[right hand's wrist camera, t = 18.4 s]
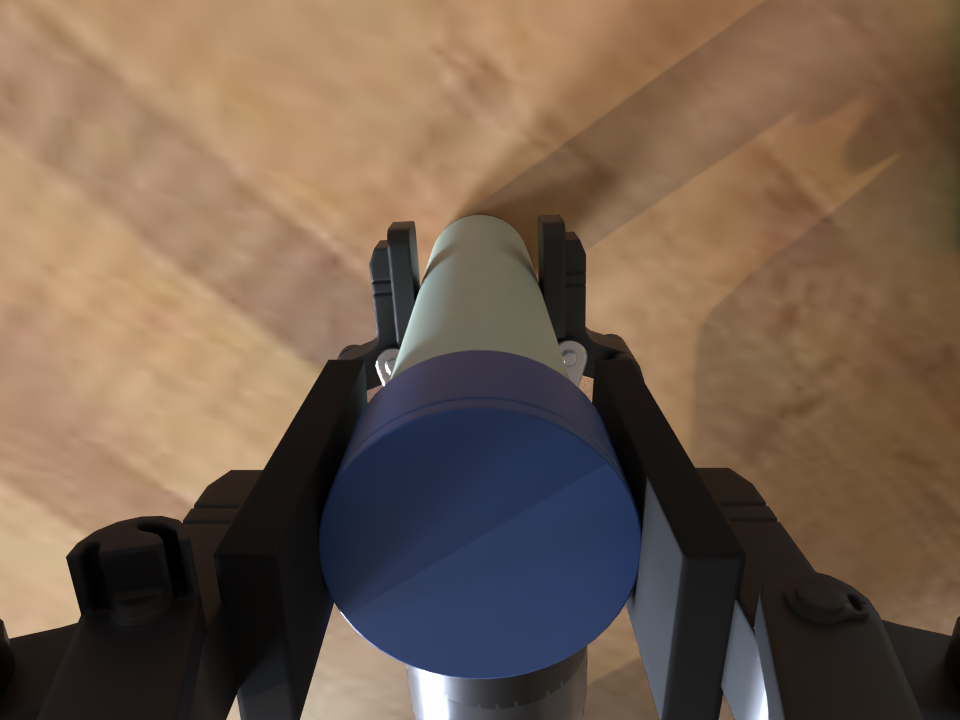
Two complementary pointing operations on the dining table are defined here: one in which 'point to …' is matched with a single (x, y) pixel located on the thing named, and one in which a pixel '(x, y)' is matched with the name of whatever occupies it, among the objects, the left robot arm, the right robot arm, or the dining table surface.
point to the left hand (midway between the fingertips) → (475, 224)
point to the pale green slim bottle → (479, 298)
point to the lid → (480, 519)
